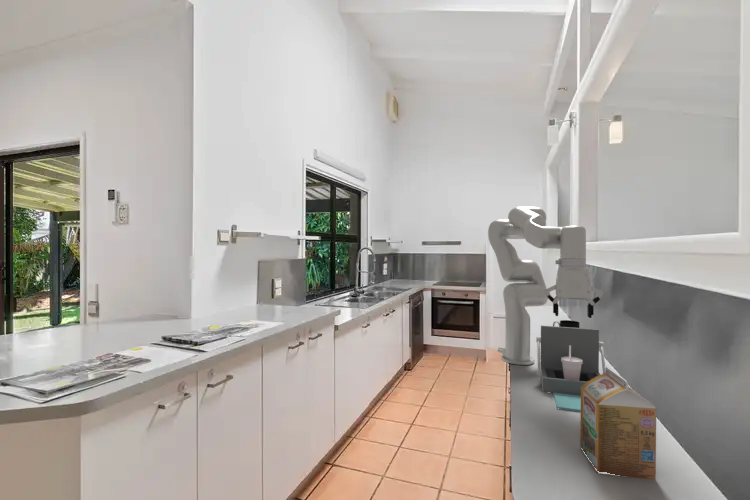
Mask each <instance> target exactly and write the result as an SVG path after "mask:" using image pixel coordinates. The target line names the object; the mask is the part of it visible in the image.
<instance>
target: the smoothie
mask: <svg viewBox="0 0 750 500" xmlns="http://www.w3.org/2000/svg"><path fill="white" fill-rule="evenodd" d="M561 361H562V365H563V373H564V379H567V380H577V381H579V378H580V371H581V365H582V364H583V360H582V359H580V358H576V357H571V346H570V345H569V357H562V358H561Z"/></svg>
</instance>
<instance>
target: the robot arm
mask: <svg viewBox="0 0 750 500" xmlns="http://www.w3.org/2000/svg"><path fill="white" fill-rule="evenodd" d="M546 222H547V214H546V212H545V210H544V209H543V208H541V207H538V206H516V207H514V208H512V209H511V210H509V212H508V215H507V218H504V219H503V218H502V219H496V220H493V221H491V223H490V224H489V226H488V230H487V231H488V232H487V235H488V241H489V244H490V246H491V248H492V250H493V251H494V253H495V257H496V259H497V260H496V261H497V264H498V267H499V272H500V274H501V277H502V280H503V281H505V282H508V283H509V284H507V285H505V287H504V289H503V291H502V295H503V302H504V303H503V304H504V310H505V339H504V342H505V343H504V344H505V347H504V346H498V347H497V352H498V353H501V354H502V355H500V356H501V359H500V360H501V361H502V362H504V363H507V364H512V365H518V366H519V365H520V366H527V365H529V366H530V365H533V364H534V363H535V359H534V358H533V357H531V316H530V314H529V313H528V311H527V309H526V308H527V307H542V306H545V304H547V302H548V300H550V302H551V303H552V313H553V314H554V315H555V317H558V316H559V303H558V302H559V301H560V300H561V299H562V300H563V299H564V300H566V299H567V300H586V301H587V306H586V307H587V311H586V312H587V313H586V314H587V317H588V318H589V319H592V316H594V306H595V304H597V303H598V302H599V301H601V298H602V297H603V295H604V291H602V290H600V289H598V288H596V287H594V286H592V283H591V282H592V281H591V272H590V269H589V267H588V268H587V230H586V228H585V227H584V226H581V225H566V226H565V225H564V226H546V225H547V223H546ZM508 240H525V241H526V242H527V243H528V244H529V245H532V246H533V247H535V248H538V249H547V250H548V249H550V250H551V249H552V250H553V249H555V250H560V252H559V253H560V254H559V256H560V258H559V259H556V260H555V264H554V265H558V266H559V267H558V268H557V271H556V279H555V281H556V282H555V284H554V285H552V286H550V287H547V285H546V283H545V282H546V281H545V279H544V276H543V274H542V270H541V267H540V266H539V264H538V263H537V262H536V261H535V260H531V259H521V258H519V256H518V251H517V250H516V248H515V247H514V246H513V245H512V244H513V243H512V244H511V242H509V241H508ZM554 290H555V295H556V296H555V297H553V296H552V295H551V293H550V292H552V291H554ZM592 292H593V293H596V295H595V297H594V298H592Z"/></svg>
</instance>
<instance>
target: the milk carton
mask: <svg viewBox="0 0 750 500" xmlns="http://www.w3.org/2000/svg"><path fill="white" fill-rule="evenodd" d="M605 370H606V373H604V374H603V373H602V374H601V375H599V376H597V377H595V378H593V379H591V380H589V381H588V382H586V383H585V384H584V385H582V386H581V412H580V430H579V431H580V432H579V433H580V435H579V436H580V437H579V438H580V440H579V442H580V446H581V448H582V449H583V451H584V452H585V454H586V455H587V457H588V458H589V460H590V461H591V462H592V464H593V465H594V467H595V468H596V469H597V471H599V472H607V473H610V474H615V475H620V476H619V477H622V476H626V477H625V478H631V479H632V478H634V479H644V480H654V481H656V479H657V476H656V475H657V472H656V469H657V462H656V461H657V408H656V407H655V406H654V405H653V403H651V402H650V401H649V400H648V399H646V398H644V396H642V395H641V394H639V393H638V392H637V391H635V390H634V389H633V388H631V387H630V386H629V383H628V381H627V380H626V379H625V378H623V376H621V375H619V374H618V373H616V372H615V371H614V370H612V369H611V368H609V367H608V366H605ZM580 446H579V447H580Z"/></svg>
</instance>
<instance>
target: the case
mask: <svg viewBox="0 0 750 500" xmlns="http://www.w3.org/2000/svg"><path fill="white" fill-rule="evenodd" d="M536 345H537V346H536V348H537V351H536V352H537V354H536V355H537V369H536V375H537V376H538V377H539V376H540V383H541V389H542V392H543V393H546V392H550V393H549V394H554V393H561V394H570V395H578V396H581V386H582V385H584V384H585V383H586V382H588V381H589V380H591V379H593V378H595V377H597V376H599V375H602V374H604V373H606V361H605V351H604V350H605V349H604V347H605V346H604V345H605V343H604V342H603V341H600V329H595V328H586V327H585V328H584V327H579V328H571V327H559V326H557V325H554V326H553V325H540V336H536ZM569 345H570V346H571V357H576V358H580V359H582V360H583V364H582V365H581V371H580V378H579V381H577V380H567V379H564V373H563V365H562V361H561V358H562V357H569ZM600 354H601V355H600ZM599 355H600V356H601V357H600V356H599ZM599 357H600V358H601V365H602V368H601V369H602V374H601V373H600V372H599V371H600V368H599V367H600V366H599V364H600V361H599V360H600V358H599Z"/></svg>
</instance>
